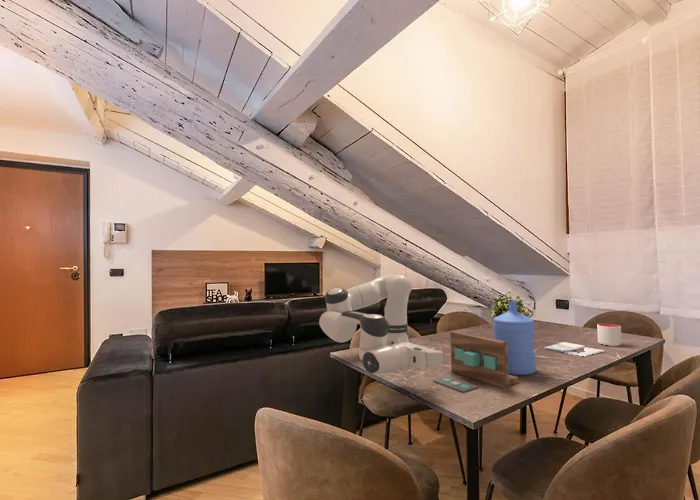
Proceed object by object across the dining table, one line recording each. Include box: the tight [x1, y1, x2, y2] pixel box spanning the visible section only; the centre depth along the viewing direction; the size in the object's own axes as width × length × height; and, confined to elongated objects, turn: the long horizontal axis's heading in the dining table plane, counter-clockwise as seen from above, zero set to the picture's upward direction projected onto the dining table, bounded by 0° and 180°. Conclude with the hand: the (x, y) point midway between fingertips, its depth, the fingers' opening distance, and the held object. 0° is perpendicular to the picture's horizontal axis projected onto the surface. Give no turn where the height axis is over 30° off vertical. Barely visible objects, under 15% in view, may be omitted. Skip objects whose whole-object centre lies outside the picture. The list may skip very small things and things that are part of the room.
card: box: [433, 375, 479, 394], centre depth 134 cm, size 8×14×1 cm, turn 33°
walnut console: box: [449, 330, 519, 388], centre depth 143 cm, size 9×24×16 cm, turn 33°
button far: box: [455, 347, 466, 361], centre depth 147 cm, size 7×4×4 cm, turn 123°
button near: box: [484, 354, 497, 370], centre depth 136 cm, size 7×4×4 cm, turn 123°
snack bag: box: [543, 341, 607, 358], centre depth 179 cm, size 19×20×2 cm
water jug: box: [492, 300, 537, 376], centre depth 151 cm, size 16×16×28 cm
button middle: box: [463, 350, 481, 367], centre depth 140 cm, size 7×4×4 cm, turn 123°
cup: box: [596, 323, 622, 347], centre depth 189 cm, size 10×10×10 cm
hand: (433, 349), depth 136 cm, fingers closed
